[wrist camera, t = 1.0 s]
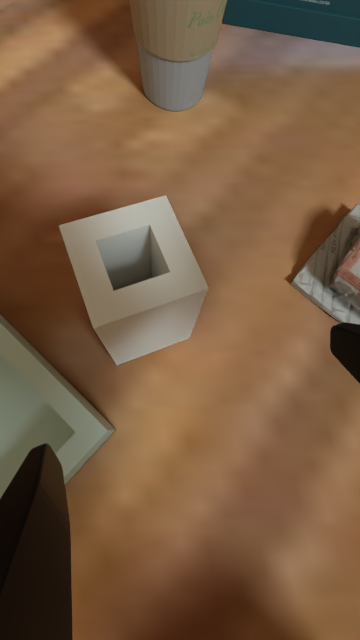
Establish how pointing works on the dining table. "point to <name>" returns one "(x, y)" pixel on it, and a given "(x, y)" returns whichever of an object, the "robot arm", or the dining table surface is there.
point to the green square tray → (42, 411)
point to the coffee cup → (175, 47)
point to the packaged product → (335, 272)
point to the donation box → (299, 18)
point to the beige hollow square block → (136, 277)
